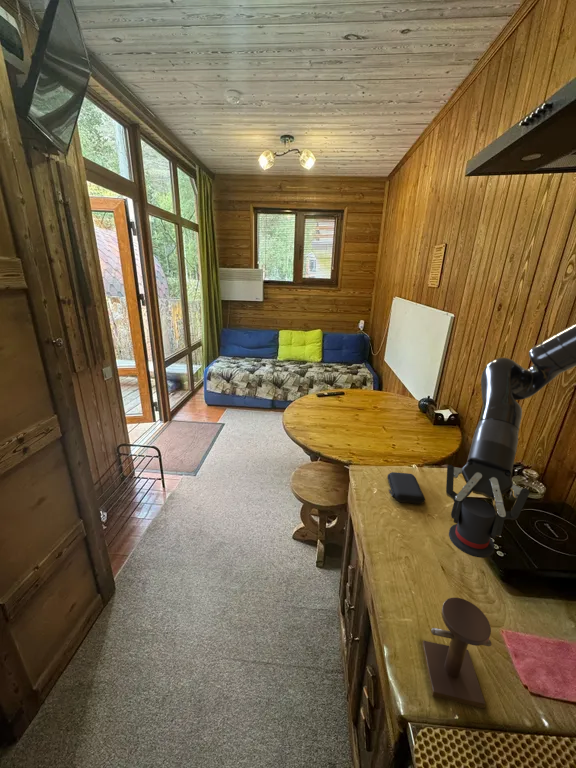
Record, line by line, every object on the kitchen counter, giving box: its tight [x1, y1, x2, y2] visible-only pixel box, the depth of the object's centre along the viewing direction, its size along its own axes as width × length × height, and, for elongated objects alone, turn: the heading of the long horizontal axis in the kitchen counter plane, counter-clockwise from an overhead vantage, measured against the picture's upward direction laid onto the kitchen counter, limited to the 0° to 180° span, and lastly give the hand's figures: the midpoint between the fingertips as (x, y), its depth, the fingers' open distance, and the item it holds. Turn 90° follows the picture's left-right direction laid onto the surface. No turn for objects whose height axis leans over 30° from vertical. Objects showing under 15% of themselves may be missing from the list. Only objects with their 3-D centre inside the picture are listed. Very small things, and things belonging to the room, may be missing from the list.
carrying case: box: [387, 471, 426, 505], centre depth 103 cm, size 11×3×15 cm
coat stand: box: [421, 597, 492, 709], centre depth 53 cm, size 9×8×14 cm
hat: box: [448, 497, 496, 559], centre depth 58 cm, size 8×8×8 cm
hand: (473, 529), depth 57 cm, fingers closed on hat, 5 cm apart
